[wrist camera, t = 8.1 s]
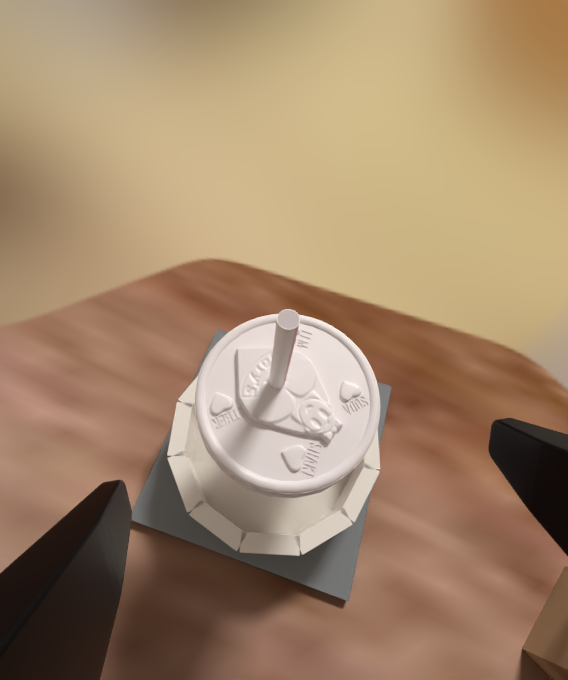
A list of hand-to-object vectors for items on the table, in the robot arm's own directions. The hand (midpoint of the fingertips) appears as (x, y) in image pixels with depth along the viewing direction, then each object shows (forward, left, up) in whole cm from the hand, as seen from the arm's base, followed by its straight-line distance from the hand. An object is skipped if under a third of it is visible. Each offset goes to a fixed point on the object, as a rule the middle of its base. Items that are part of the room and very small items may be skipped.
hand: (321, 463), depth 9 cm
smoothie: (+3, -1, -13) cm, 13 cm away
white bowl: (+3, -1, -13) cm, 13 cm away
